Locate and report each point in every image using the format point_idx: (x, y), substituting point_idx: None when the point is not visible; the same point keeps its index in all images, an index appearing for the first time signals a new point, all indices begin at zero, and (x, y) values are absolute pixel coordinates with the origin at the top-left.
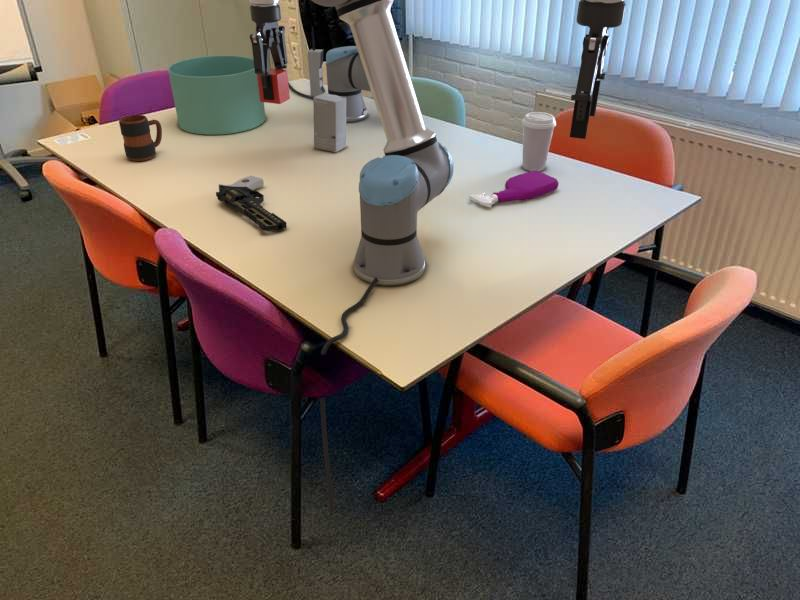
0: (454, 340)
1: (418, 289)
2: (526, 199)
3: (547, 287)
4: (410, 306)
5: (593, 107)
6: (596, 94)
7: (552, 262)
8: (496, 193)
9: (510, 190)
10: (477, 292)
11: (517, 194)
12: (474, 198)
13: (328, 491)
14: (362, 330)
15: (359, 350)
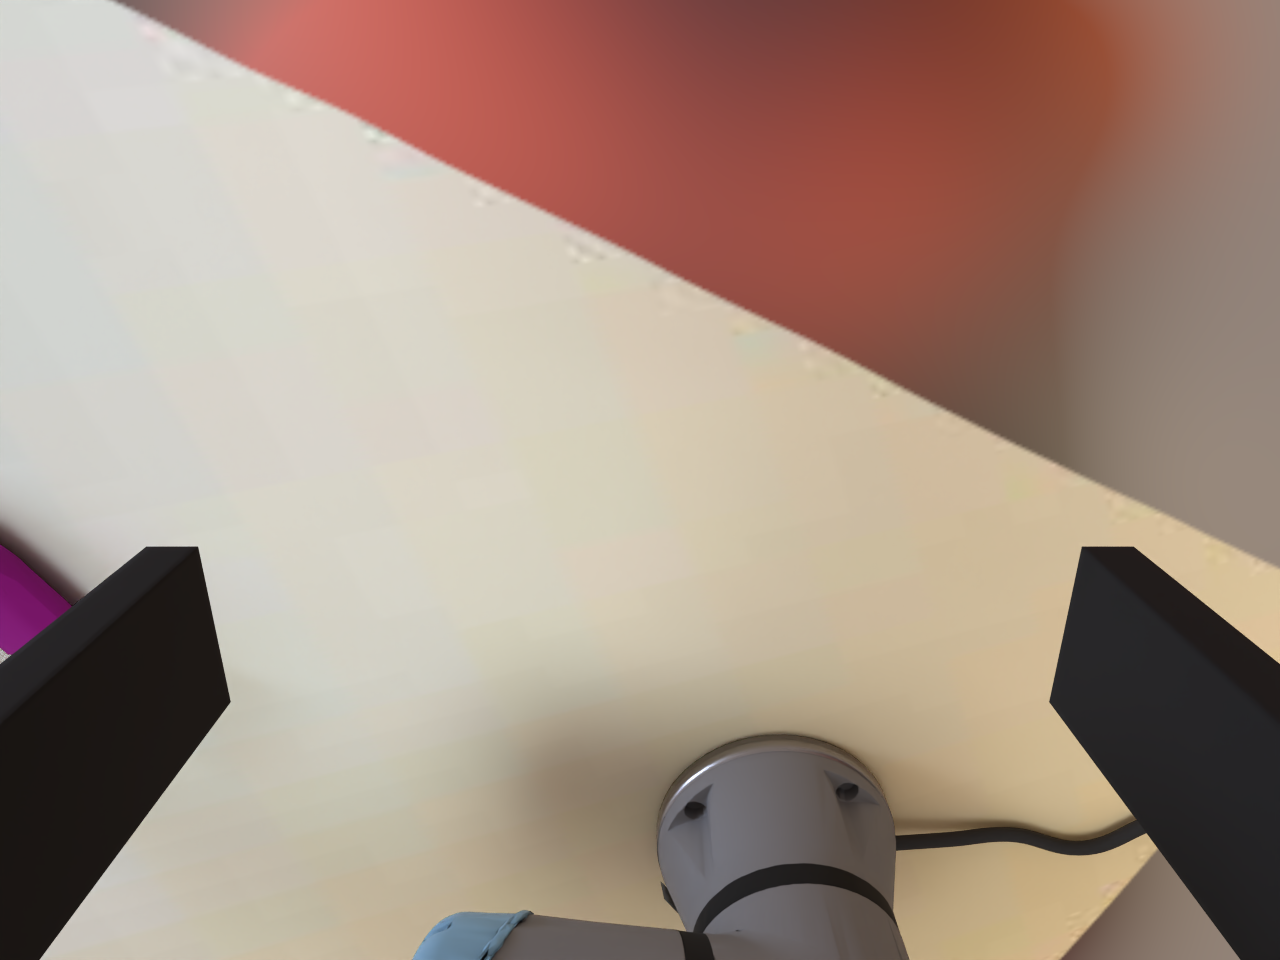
0: (1140, 544)
1: (872, 717)
2: (2, 546)
3: (725, 323)
4: (978, 709)
5: (139, 634)
6: (4, 749)
7: (518, 337)
8: None
9: (8, 632)
10: (838, 549)
11: (22, 596)
12: None
13: None
14: None
15: None
